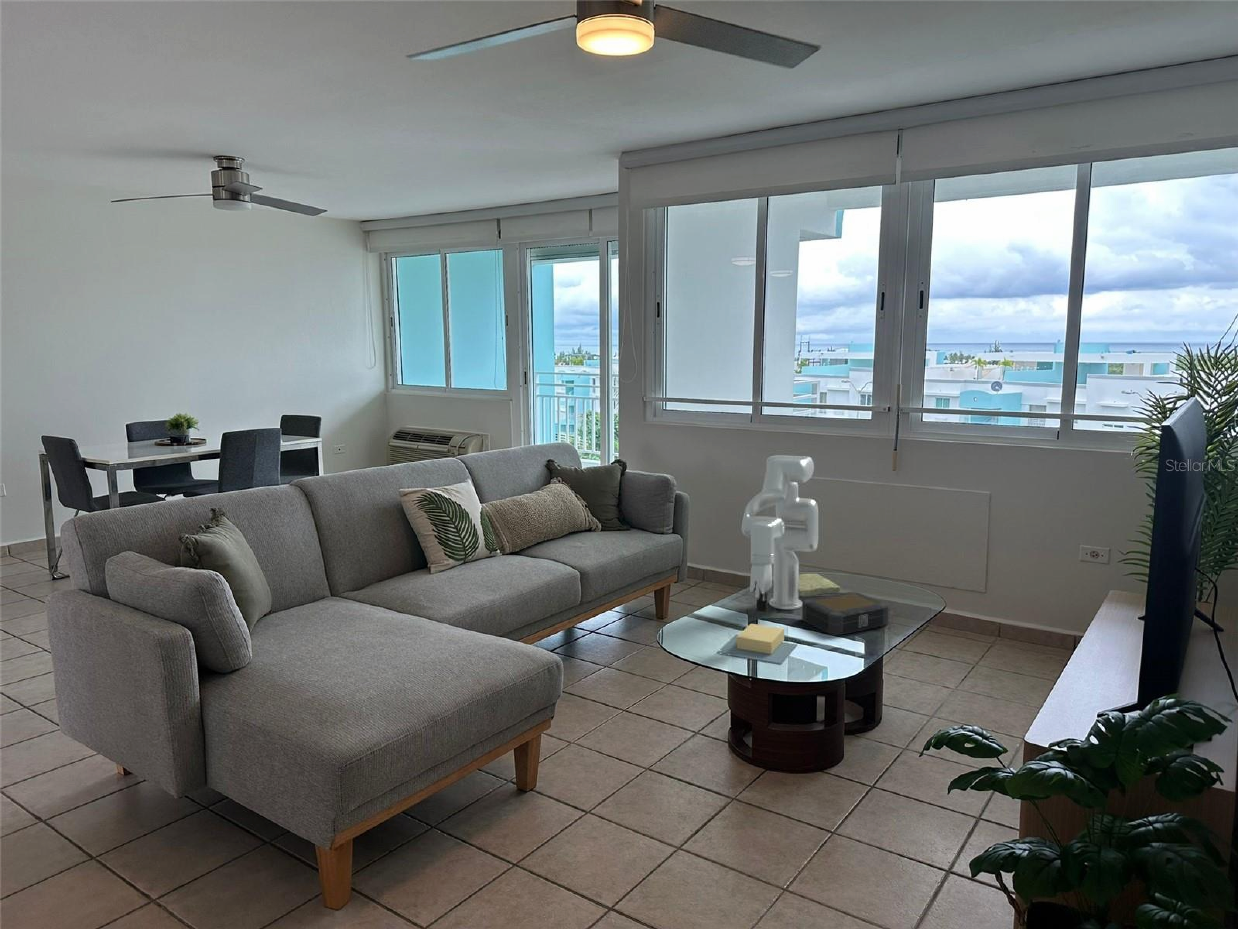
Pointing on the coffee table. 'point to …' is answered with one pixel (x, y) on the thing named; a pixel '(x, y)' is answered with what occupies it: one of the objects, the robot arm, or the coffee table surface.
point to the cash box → (845, 613)
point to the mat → (775, 657)
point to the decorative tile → (815, 585)
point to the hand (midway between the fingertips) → (761, 610)
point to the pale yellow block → (760, 638)
